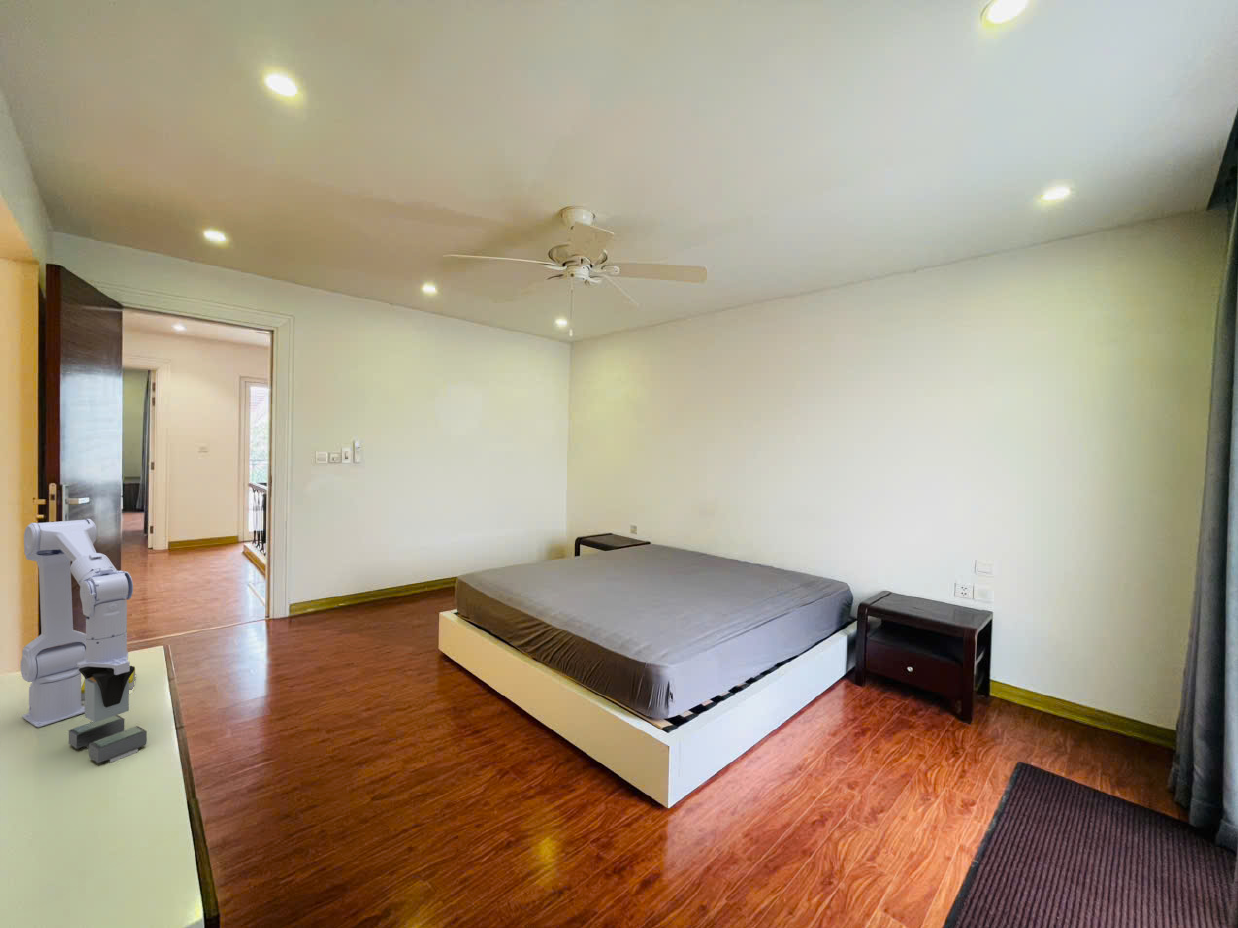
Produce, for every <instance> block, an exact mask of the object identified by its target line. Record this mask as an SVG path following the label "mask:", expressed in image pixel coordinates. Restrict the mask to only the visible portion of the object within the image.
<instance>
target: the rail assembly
mask: <svg viewBox="0 0 1238 928" xmlns="http://www.w3.org/2000/svg"><path fill="white" fill-rule="evenodd" d="M147 739H148V738H147V730H146V729H143V728H142V727H140V726H138V725H136V726H133V727H131V728H128V729H125V718H123V717H122V716H120V715H119V714H118V715H115V716H112V717H109V718H106V719H103V720H100V721H97V722H95V723H94V722H93V721H90V722H88V723H86V724H82V725H80V726H77V727H73V728H71V729H68V744H69V745H70V746H71V747H73V748H74V749H76V750H77V749H81V748H83V747H85V748H87V750H89V751H88V756H89V758H90V759H91V760H93V761H94V762H95V763H96V764H100V763H102V762H105V761H107V762H108V763H109V764H111V763H114V762H116V761H118V760H121V759H124V758H126V757H129V756H131V755H134V754H136V753H138V752H139V748H142V747H144V746H146V745H147V744H148V743H147Z"/></svg>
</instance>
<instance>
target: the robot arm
mask: <svg viewBox="0 0 1238 928" xmlns="http://www.w3.org/2000/svg"><path fill="white" fill-rule="evenodd" d="M97 535H98V529H97V525H96V523H95V522H94V521H93V520H92V519H90V518H84V519H76V520H62V521H46V522H29V524H28V525H27V526H26V527H25V529H24V533H23V549H24V556H25V559H26V561H27V560H28V561H34V562H36V565H37V567H38V577H39V579H38V581H39V605H40V607H39V608H40V627H41V629H40V630H41V633H40V635H38V636H37V637H35V638H34V639H33V640H31V641H30V642H29V643H27V644H26V645H25V646H24V647H23V649H22V652H21V660H20V674H21V677H22V679H23V680H24V681H25V682H27V683H30V684H29V685H30V686H29V687H28V713H25V714H23V715H22V719H24V720H25V721H27V722H29V724H31V725H33V726H34V727H36V728H41V727H44V726H48V725H50V724H54V723H57V722H61V721H63V720H66V719H70V718H72V717H76V716H78V715H81V714H85V705H81V687H82V676H83V677H84V680H85V679H88V678H91V677H93V678H94V679H95V680H96V682H97V683H98V685H99V688H100V691H101V696H102V701H103V704H104V706H105V707H110V706H113V705H116V704H119V703H120V701H121V698H122V695H123V692H124V688H125V686H126V683H127V681H128V679H129V677H130V676H131V674H132V673H133V672H134V667H135V666H134V665H130V661H129V660H128V659H129V651H128V600H130V599H132V597H133V593H134V583H133V579H132V576H131V574H130V572H128V571H123V570H118V569H117V568H116V567H115V565H114V563H112V561H111V559H110V558H109V557H108V556H107V555H105V554H104V553H101V552H97V551H96V548H95V546H94V543H95V542H96V541H97ZM71 562H72V563H71ZM72 576H73V578H74V579H75V580H76V582H77V584H78V585H79V587H80V588H79V597H80V601H81V606H82V615H83V616H85V632H82V631H79V630H75V629H74V622H73V600H72V599H73V596H72V595H73V594H72ZM133 666H134V667H133Z"/></svg>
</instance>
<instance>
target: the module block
mask: <svg viewBox="0 0 1238 928" xmlns="http://www.w3.org/2000/svg"><path fill="white" fill-rule="evenodd" d="M84 680H85V704H84V706H85V713H84V718H86V719H87V720H89V721H90V722H94V723H95V722H97V721H100V720H103V719H106V718H109V717H112V716H115V715H118V716H119V715H121V714H124V713H126V712H129V710H130V709H129V708H130V706H129V705H130V703H129V702H130V698H129V697H130V696H129V695H130V694H129V679H128V681H127V683H126V686H125V688H124V692H123V695H122V698H121V701H120V703H119V704H116V705H113V706H110V707H105V706H104V704H103V701H102V696H101V691H100V688H99V685H98V683H97V682H96V680H95V679H94V678H93V677H91V678H88V679H85V678H84Z"/></svg>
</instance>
